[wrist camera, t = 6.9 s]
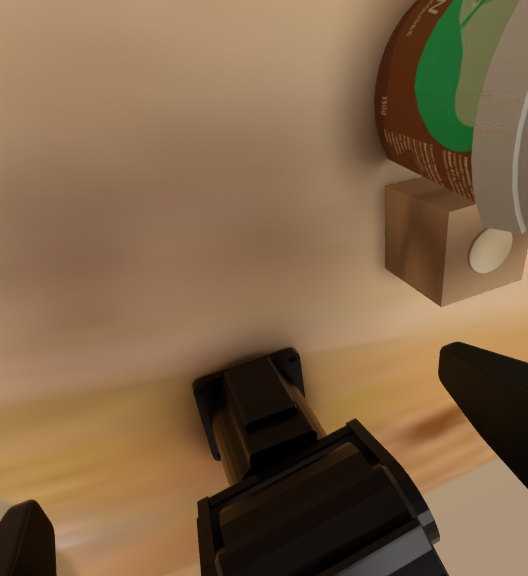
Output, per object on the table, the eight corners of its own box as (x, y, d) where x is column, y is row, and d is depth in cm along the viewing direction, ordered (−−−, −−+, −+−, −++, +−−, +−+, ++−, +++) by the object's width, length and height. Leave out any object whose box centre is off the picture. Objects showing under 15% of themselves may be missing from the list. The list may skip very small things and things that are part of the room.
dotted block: (454, 245, 26) (524, 281, 22) (384, 267, 25) (443, 308, 21) (461, 165, 24) (543, 187, 20) (384, 185, 23) (452, 213, 18)
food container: (510, -134, 18) (875, -315, 9) (548, 2, 21) (845, -43, 13) (300, 82, 19) (462, 92, 10) (368, 179, 22) (532, 246, 14)
